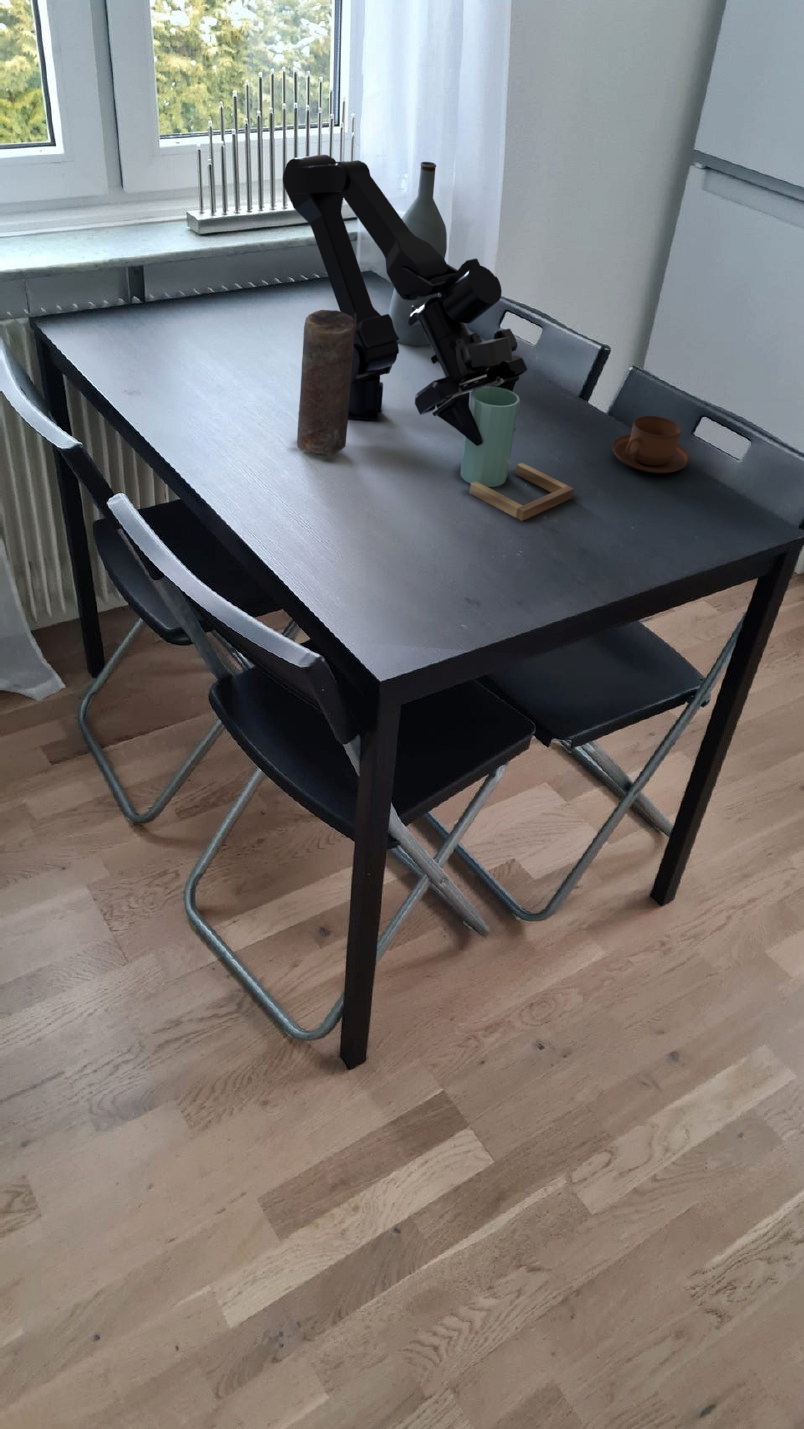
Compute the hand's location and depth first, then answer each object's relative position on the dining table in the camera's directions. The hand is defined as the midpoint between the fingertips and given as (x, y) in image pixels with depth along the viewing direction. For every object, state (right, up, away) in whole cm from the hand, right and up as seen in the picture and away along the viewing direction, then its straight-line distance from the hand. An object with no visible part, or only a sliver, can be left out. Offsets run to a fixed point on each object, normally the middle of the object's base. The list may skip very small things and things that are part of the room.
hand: (496, 438), depth 161 cm
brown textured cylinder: (-26, 0, +7) cm, 27 cm away
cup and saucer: (+25, -1, +14) cm, 29 cm away
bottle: (-12, +30, +47) cm, 57 cm away
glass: (-2, -4, +5) cm, 7 cm away
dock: (+3, -8, +1) cm, 8 cm away
